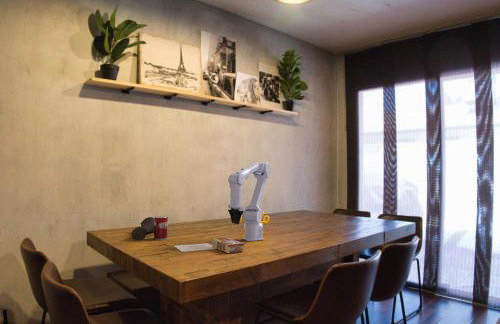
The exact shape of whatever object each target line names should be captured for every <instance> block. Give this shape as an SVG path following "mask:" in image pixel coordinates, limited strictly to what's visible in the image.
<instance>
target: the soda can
mask: <svg viewBox="0 0 500 324" xmlns="http://www.w3.org/2000/svg"><path fill="white" fill-rule="evenodd" d="M153 218H154V232H153V239H154V240H155V241H163V240H167V239H168V235H169V234H168V233H169V232H168V231H169V228H168V227H169V217H168V215H157V216H154V217H153Z"/></svg>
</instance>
